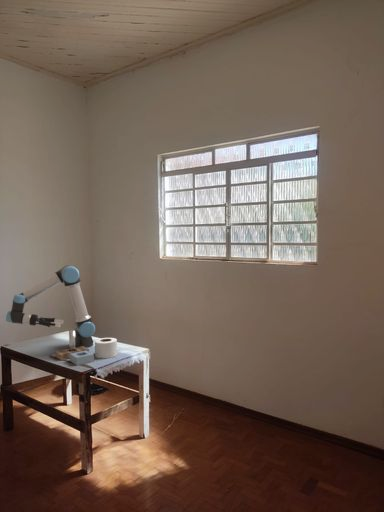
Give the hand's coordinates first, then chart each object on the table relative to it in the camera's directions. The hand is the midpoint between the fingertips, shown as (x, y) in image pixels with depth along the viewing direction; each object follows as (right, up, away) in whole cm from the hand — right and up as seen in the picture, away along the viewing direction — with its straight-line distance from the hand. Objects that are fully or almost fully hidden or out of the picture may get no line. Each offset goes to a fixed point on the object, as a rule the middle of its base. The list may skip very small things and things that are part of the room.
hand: (62, 323), depth 260 cm
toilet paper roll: (+30, -23, +3) cm, 38 cm away
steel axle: (+7, -23, +2) cm, 24 cm away
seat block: (+17, -24, -11) cm, 31 cm away
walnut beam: (+7, -23, +2) cm, 24 cm away
